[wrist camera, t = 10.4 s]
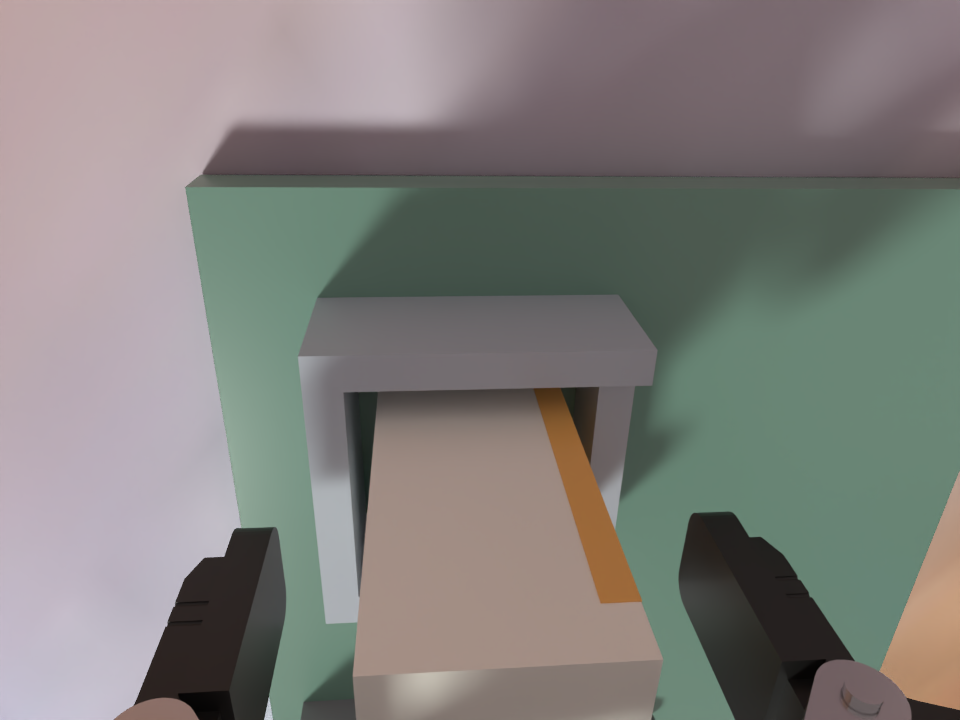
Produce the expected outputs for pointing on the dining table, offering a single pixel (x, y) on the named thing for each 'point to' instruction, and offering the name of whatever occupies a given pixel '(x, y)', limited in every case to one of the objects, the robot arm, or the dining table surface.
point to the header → (455, 366)
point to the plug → (494, 569)
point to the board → (656, 409)
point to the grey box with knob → (329, 710)
